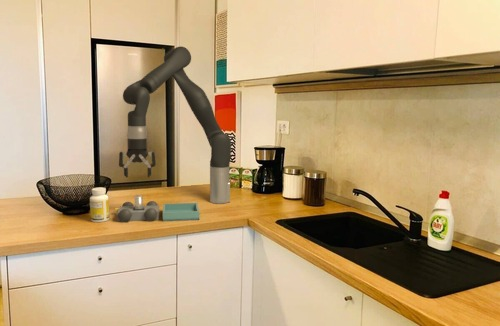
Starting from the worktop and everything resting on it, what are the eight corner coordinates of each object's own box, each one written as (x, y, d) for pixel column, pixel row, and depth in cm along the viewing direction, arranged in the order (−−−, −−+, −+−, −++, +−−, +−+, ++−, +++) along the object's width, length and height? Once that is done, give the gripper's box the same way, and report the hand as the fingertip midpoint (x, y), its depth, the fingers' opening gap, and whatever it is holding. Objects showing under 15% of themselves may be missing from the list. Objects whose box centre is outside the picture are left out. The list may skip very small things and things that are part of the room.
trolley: (159, 211, 178) (159, 200, 177) (158, 221, 165) (158, 208, 164) (115, 213, 175) (115, 201, 174) (111, 222, 161) (110, 210, 161)
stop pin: (143, 215, 172) (142, 194, 170) (142, 218, 169) (142, 196, 167) (135, 216, 171) (134, 195, 170) (134, 218, 168) (134, 196, 167)
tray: (197, 210, 182) (197, 202, 181) (199, 219, 167) (199, 211, 167) (163, 211, 179) (163, 203, 178) (162, 221, 165) (162, 212, 164)
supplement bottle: (103, 216, 170) (102, 186, 168) (113, 219, 166) (111, 188, 164) (87, 220, 165) (85, 188, 163) (96, 223, 160) (95, 191, 158)
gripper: (155, 136, 170) (156, 175, 172) (119, 136, 167) (120, 175, 170) (154, 138, 163) (155, 178, 165) (117, 138, 160) (118, 178, 162)
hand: (137, 176), depth 167 cm, fingers open, 8 cm apart
